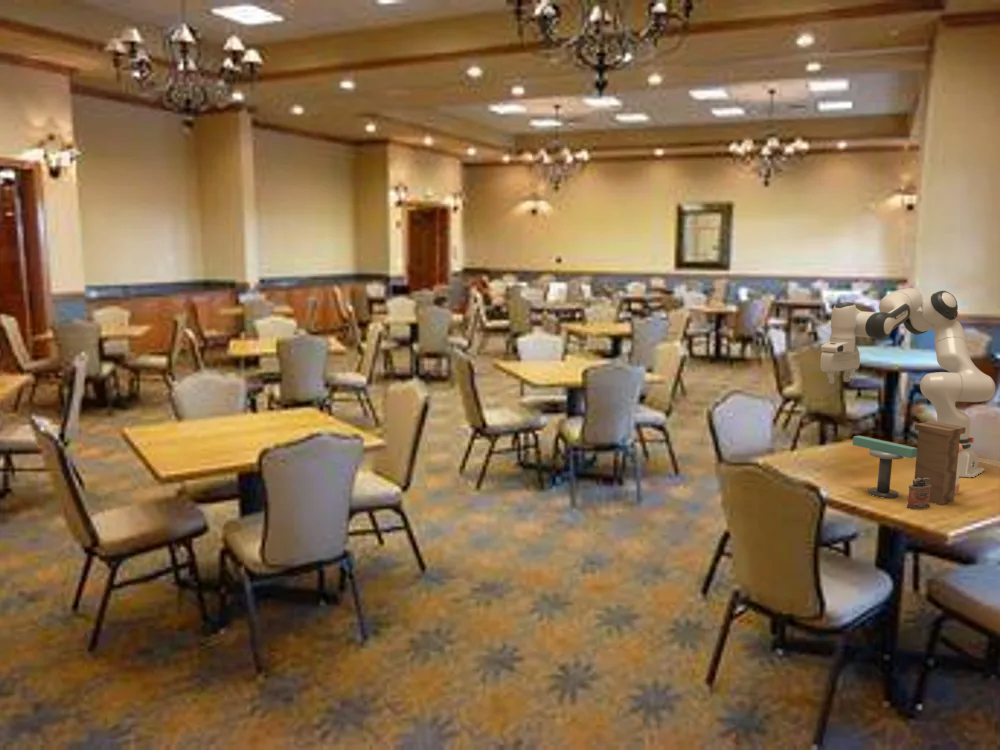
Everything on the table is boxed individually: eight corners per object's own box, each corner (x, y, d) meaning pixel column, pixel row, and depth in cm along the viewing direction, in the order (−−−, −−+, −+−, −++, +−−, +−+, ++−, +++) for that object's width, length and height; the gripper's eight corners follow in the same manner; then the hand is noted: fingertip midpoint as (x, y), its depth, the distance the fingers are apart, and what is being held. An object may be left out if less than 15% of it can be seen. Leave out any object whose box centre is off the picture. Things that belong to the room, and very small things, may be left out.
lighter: (911, 509, 279) (914, 480, 277) (904, 506, 282) (907, 477, 280) (931, 508, 281) (934, 478, 279) (924, 504, 284) (927, 476, 282)
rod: (858, 443, 304) (859, 435, 304) (916, 456, 286) (917, 448, 286) (852, 444, 302) (853, 436, 302) (910, 458, 284) (911, 449, 284)
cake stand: (877, 488, 303) (880, 446, 301) (906, 495, 294) (910, 452, 292) (859, 492, 297) (862, 449, 295) (888, 500, 288) (892, 456, 286)
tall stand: (923, 493, 298) (930, 421, 294) (958, 501, 288) (965, 427, 284) (908, 497, 292) (915, 424, 288) (942, 506, 283) (950, 430, 279)
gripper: (850, 343, 324) (847, 379, 326) (818, 346, 313) (815, 383, 315) (865, 345, 319) (862, 381, 321) (833, 348, 307) (830, 385, 309)
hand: (839, 382), depth 318 cm, fingers open, 8 cm apart
